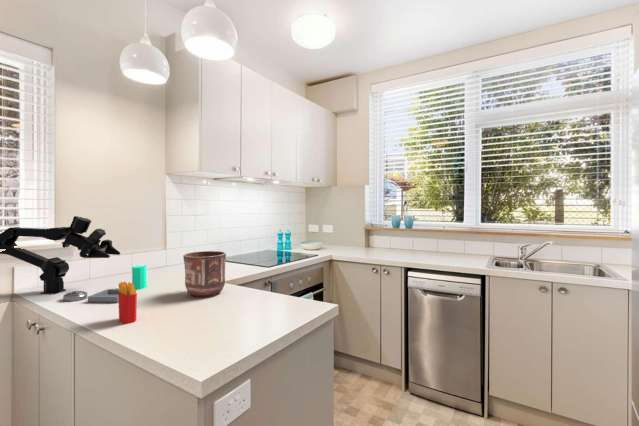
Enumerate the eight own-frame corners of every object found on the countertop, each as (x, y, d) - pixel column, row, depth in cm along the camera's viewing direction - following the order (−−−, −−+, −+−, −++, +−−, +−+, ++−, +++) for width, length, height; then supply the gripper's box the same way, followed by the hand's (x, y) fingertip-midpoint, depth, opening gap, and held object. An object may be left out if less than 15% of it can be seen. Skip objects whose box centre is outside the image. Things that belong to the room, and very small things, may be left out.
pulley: (58, 301, 130) (58, 294, 130) (73, 296, 138) (73, 289, 138) (77, 301, 130) (77, 294, 130) (91, 296, 138) (91, 289, 138)
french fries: (139, 321, 108) (138, 283, 108) (124, 325, 105) (124, 285, 105) (129, 315, 114) (129, 279, 114) (116, 318, 111) (115, 281, 111)
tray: (87, 302, 129) (87, 296, 129) (108, 294, 141) (107, 288, 141) (117, 303, 129) (117, 296, 129) (134, 294, 141) (134, 289, 141)
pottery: (199, 287, 154) (198, 250, 153) (232, 289, 150) (232, 251, 150) (175, 298, 137) (174, 256, 136) (212, 300, 133) (212, 257, 132)
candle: (149, 287, 154) (149, 262, 154) (137, 290, 149) (137, 264, 149) (141, 285, 157) (140, 261, 157) (129, 288, 151) (129, 263, 151)
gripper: (75, 227, 136) (111, 241, 138) (100, 224, 155) (131, 237, 157) (64, 251, 136) (100, 265, 138) (90, 245, 155) (122, 258, 156)
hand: (114, 255), depth 147 cm, fingers open, 9 cm apart
